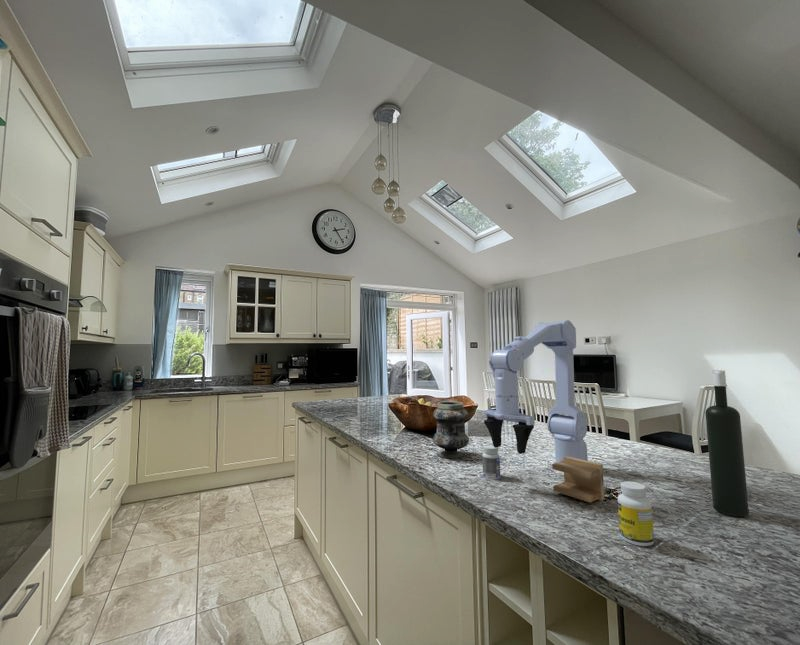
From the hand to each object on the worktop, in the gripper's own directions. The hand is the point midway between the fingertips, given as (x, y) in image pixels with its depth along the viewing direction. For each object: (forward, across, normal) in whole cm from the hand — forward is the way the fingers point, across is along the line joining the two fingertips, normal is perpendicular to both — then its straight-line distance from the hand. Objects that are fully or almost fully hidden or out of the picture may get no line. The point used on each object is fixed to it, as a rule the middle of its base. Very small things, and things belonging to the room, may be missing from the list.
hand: (509, 449), depth 94 cm
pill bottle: (+10, -9, +4) cm, 14 cm away
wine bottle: (+10, +36, +27) cm, 47 cm away
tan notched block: (+10, +13, +6) cm, 17 cm away
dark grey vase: (+10, -32, +9) cm, 34 cm away
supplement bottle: (+10, +30, -2) cm, 32 cm away
